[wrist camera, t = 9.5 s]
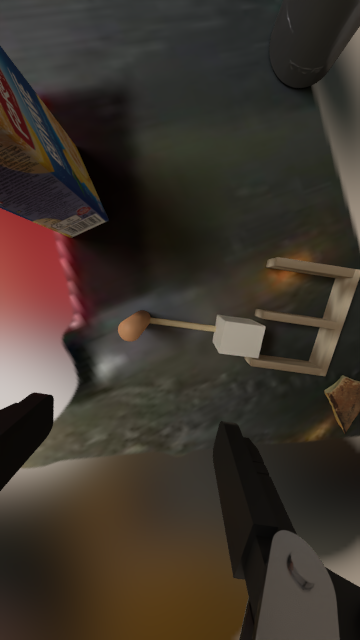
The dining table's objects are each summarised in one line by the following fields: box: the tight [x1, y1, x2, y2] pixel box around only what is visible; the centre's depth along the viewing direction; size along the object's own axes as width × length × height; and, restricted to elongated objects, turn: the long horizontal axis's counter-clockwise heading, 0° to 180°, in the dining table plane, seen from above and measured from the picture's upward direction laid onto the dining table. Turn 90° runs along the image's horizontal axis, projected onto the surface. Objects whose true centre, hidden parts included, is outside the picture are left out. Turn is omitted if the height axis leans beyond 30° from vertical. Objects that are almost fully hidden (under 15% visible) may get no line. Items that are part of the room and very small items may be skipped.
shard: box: [324, 375, 360, 434], centre depth 34 cm, size 11×8×2 cm
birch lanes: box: [244, 257, 360, 376], centre depth 29 cm, size 18×13×3 cm
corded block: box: [118, 310, 266, 358], centre depth 27 cm, size 5×20×8 cm, turn 82°
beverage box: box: [0, 46, 109, 238], centre depth 16 cm, size 7×11×22 cm, turn 22°
